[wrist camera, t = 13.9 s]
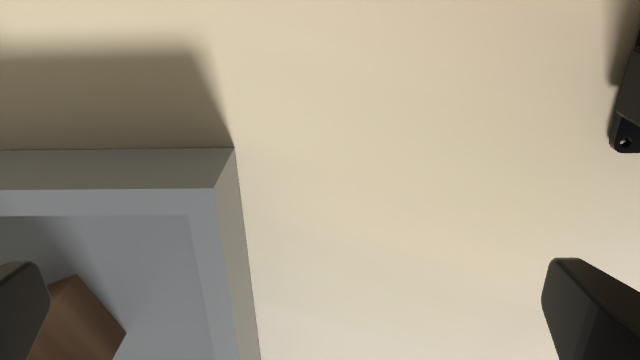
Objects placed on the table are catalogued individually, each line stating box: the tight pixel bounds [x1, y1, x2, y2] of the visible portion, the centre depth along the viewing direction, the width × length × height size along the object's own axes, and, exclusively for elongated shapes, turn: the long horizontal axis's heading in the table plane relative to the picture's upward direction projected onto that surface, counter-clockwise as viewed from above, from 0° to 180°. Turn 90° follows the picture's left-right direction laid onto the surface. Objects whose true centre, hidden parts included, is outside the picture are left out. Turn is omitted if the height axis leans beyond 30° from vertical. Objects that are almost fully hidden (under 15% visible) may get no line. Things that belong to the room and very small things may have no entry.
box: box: [0, 147, 261, 360], centre depth 24 cm, size 18×18×4 cm
